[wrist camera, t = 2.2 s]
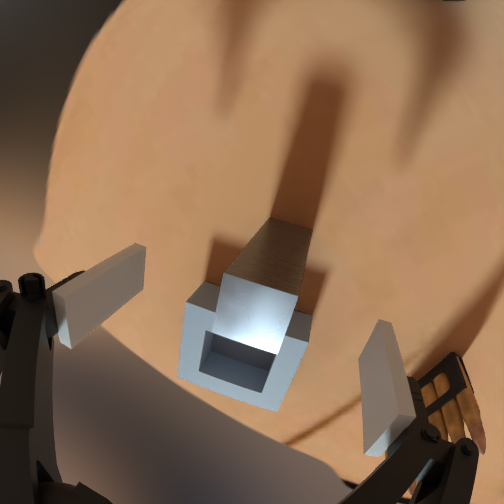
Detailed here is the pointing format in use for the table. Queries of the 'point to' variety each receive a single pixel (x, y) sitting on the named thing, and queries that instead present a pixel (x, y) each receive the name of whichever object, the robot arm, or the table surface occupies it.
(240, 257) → the steel pin
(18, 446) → the robot arm
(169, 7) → the table surface
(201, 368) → the slot block
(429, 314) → the table surface
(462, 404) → the ammunition clip
